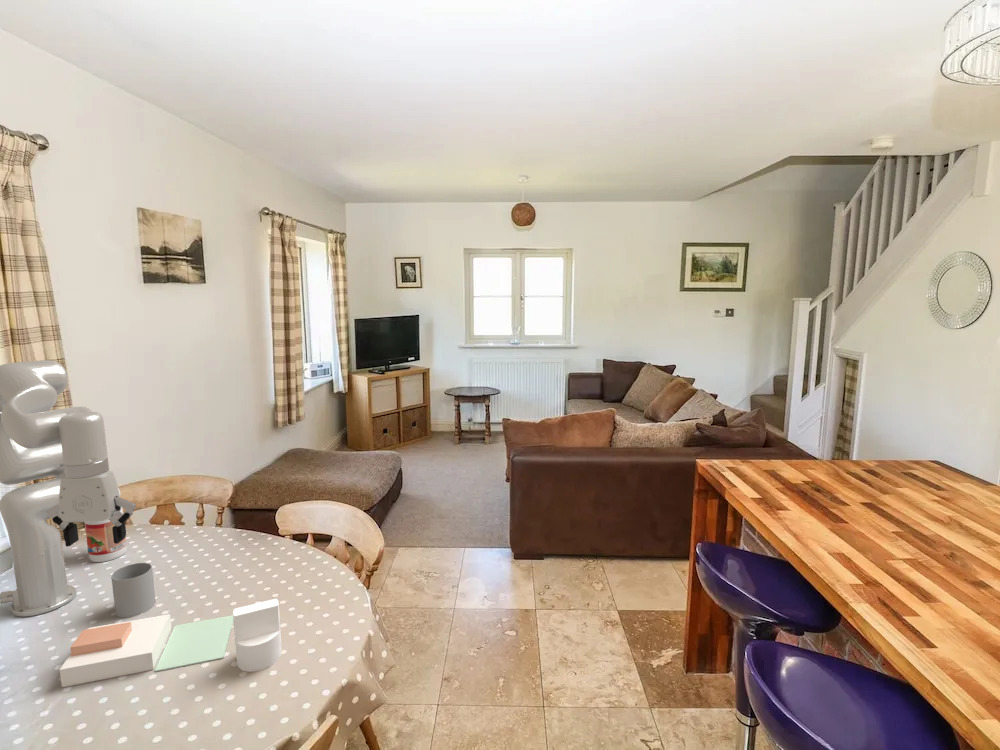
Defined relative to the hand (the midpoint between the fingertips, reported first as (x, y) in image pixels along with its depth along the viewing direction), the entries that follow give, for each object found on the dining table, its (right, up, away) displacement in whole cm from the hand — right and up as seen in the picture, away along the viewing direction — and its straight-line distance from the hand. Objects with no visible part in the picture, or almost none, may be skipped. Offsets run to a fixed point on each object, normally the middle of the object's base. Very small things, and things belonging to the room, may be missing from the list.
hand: (96, 542), depth 114 cm
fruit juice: (-30, -18, +43) cm, 55 cm away
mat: (+21, -24, +4) cm, 32 cm away
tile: (+4, -21, -3) cm, 21 cm away
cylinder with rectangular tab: (+37, -25, -1) cm, 45 cm away
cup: (-3, -22, +17) cm, 28 cm away
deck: (+7, -25, -1) cm, 26 cm away
